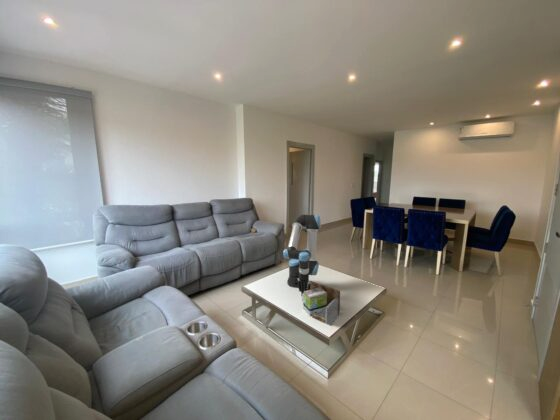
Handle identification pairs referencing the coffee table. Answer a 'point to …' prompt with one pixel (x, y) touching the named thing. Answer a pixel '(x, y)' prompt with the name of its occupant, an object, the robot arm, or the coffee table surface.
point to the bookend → (332, 311)
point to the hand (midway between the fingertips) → (303, 300)
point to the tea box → (315, 301)
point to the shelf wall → (330, 297)
